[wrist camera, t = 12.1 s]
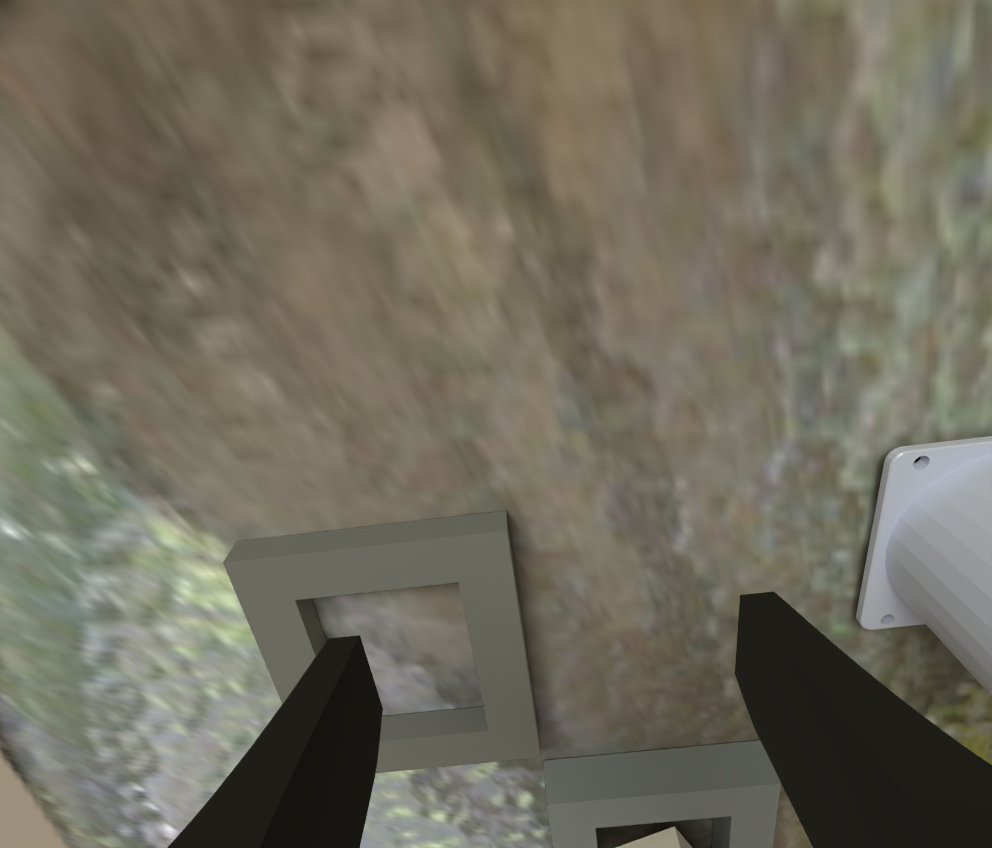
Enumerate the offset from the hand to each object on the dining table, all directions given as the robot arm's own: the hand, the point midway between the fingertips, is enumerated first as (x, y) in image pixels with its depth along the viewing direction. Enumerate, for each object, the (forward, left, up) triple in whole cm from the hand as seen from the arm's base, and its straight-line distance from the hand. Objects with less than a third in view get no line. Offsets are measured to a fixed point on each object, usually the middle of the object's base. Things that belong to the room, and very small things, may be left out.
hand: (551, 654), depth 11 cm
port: (-4, +23, -9) cm, 25 cm away
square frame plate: (+6, +9, -9) cm, 14 cm away
